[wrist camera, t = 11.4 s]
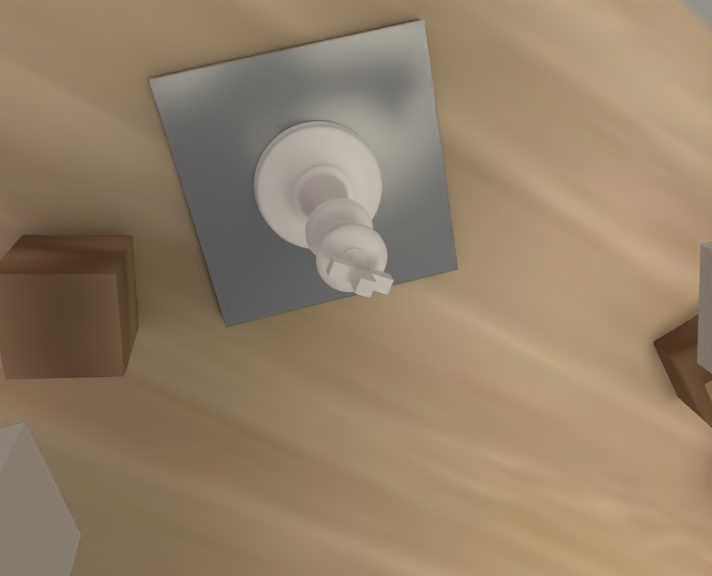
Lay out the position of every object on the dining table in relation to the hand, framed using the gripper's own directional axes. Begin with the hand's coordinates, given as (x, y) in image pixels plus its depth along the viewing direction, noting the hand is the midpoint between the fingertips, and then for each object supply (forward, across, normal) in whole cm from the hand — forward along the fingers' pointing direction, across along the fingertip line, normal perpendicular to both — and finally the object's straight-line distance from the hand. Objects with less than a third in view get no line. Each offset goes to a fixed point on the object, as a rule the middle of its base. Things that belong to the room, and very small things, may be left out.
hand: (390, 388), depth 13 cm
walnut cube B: (+15, -9, -2) cm, 18 cm away
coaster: (+15, +1, 0) cm, 15 cm away
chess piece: (+14, +1, 0) cm, 14 cm away
